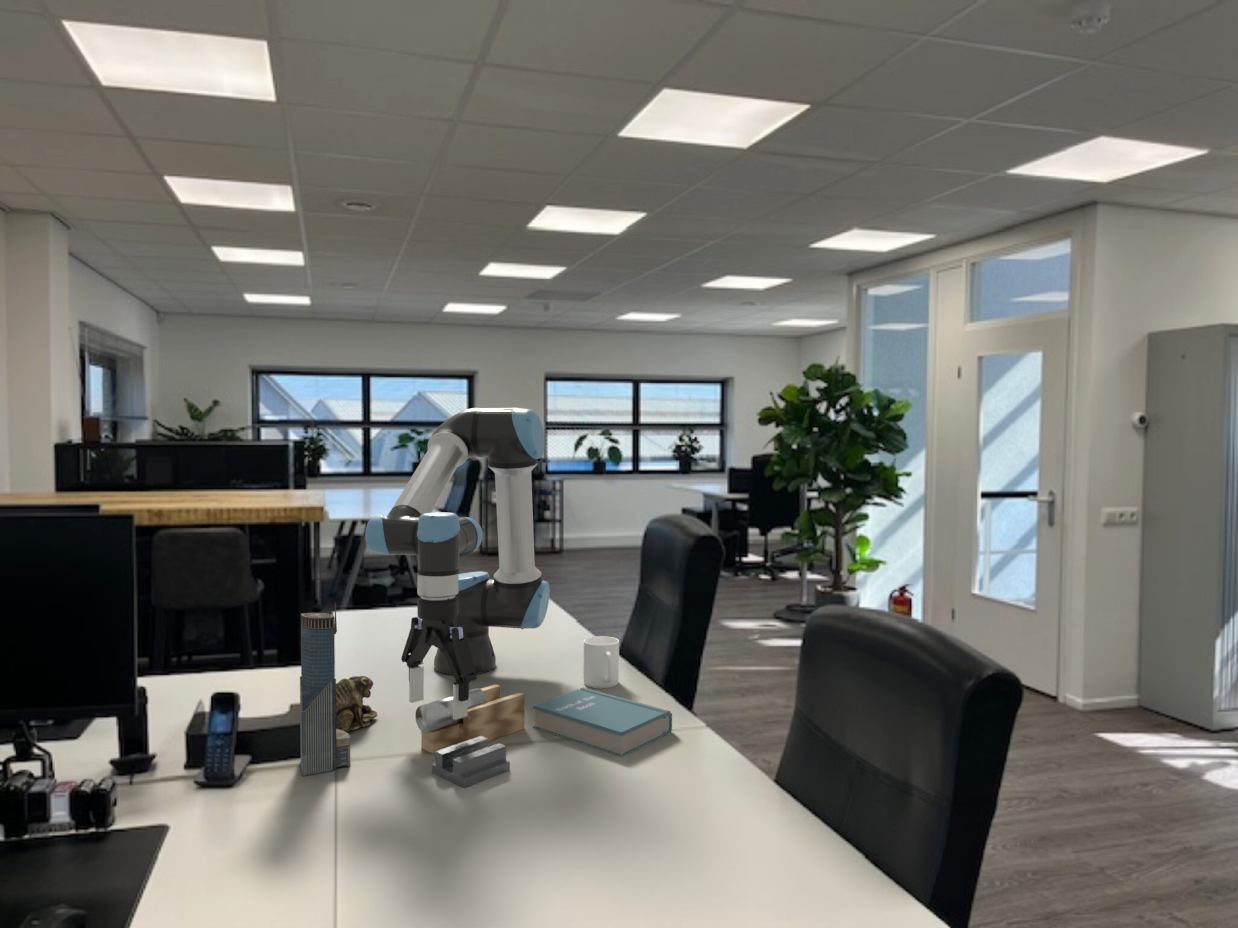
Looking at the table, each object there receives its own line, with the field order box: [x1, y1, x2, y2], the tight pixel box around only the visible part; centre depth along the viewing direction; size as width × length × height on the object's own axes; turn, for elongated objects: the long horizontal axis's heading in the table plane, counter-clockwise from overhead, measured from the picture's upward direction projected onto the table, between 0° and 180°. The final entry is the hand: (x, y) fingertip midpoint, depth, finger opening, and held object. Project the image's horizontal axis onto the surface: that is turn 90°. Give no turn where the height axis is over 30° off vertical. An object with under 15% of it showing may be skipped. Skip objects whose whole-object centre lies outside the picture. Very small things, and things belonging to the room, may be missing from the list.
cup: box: [582, 635, 620, 689], centre depth 196 cm, size 8×12×10 cm
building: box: [299, 603, 351, 777], centre depth 148 cm, size 10×9×30 cm
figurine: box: [336, 675, 379, 732], centre depth 167 cm, size 6×14×10 cm, turn 137°
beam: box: [420, 684, 526, 755], centre depth 164 cm, size 20×9×7 cm, turn 138°
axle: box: [414, 687, 487, 733], centre depth 160 cm, size 13×5×5 cm, turn 138°
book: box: [532, 687, 673, 758], centre depth 168 cm, size 23×16×5 cm
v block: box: [431, 736, 511, 788], centre depth 147 cm, size 10×9×4 cm
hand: (437, 709), depth 157 cm, fingers open, 13 cm apart
